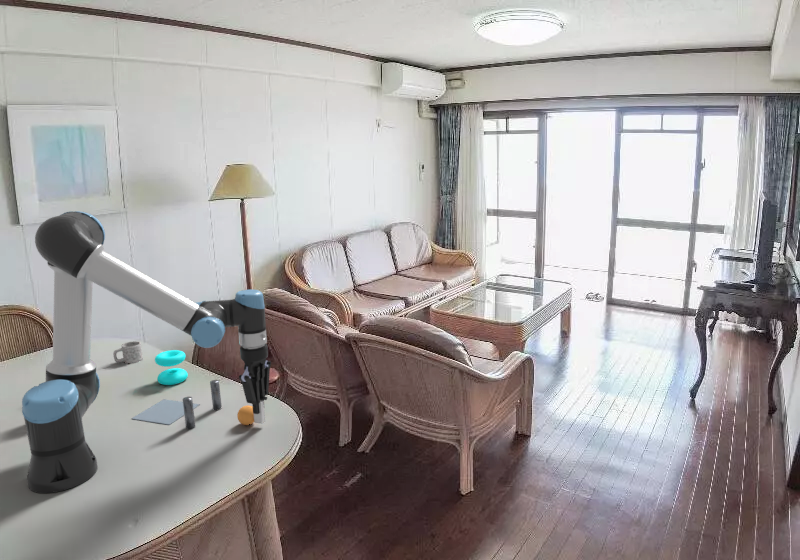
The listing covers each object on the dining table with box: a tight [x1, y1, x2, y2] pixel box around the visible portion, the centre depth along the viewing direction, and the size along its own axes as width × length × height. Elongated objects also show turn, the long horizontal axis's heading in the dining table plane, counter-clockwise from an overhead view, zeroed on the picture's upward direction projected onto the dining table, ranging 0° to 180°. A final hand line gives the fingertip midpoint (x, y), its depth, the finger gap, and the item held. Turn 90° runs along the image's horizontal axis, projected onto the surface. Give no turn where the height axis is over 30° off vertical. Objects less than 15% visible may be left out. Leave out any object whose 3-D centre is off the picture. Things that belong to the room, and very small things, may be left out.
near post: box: [182, 396, 196, 430], centre depth 167 cm, size 3×3×9 cm
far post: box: [209, 379, 223, 411], centre depth 178 cm, size 3×3×9 cm
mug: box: [113, 340, 144, 364], centre depth 221 cm, size 10×7×7 cm
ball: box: [237, 405, 254, 426], centre depth 168 cm, size 6×6×6 cm
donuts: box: [154, 349, 189, 386], centre depth 201 cm, size 10×10×10 cm
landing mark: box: [130, 398, 201, 426], centre depth 178 cm, size 14×14×1 cm
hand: (259, 421), depth 167 cm, fingers closed
